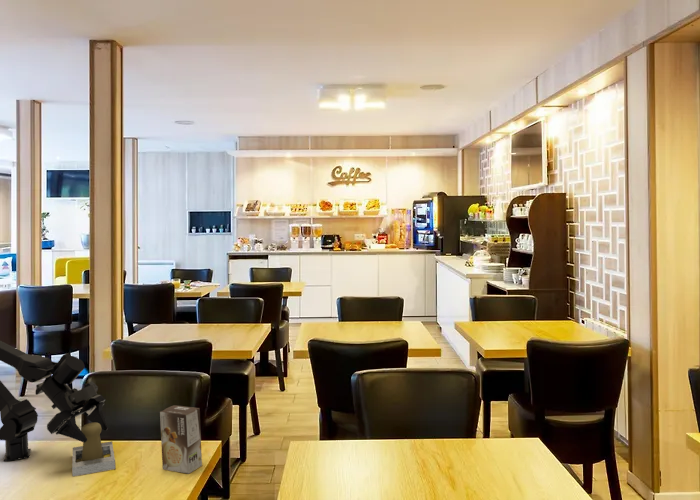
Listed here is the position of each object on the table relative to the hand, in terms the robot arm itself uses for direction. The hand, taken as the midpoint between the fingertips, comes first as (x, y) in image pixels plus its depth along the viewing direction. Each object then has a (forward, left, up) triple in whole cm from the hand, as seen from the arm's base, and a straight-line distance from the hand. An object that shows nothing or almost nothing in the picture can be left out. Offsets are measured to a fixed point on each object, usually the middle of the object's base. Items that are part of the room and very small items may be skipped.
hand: (96, 435), depth 168 cm
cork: (-1, -1, -8) cm, 8 cm away
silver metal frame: (-1, -1, -8) cm, 8 cm away
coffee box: (+14, +21, -8) cm, 27 cm away
